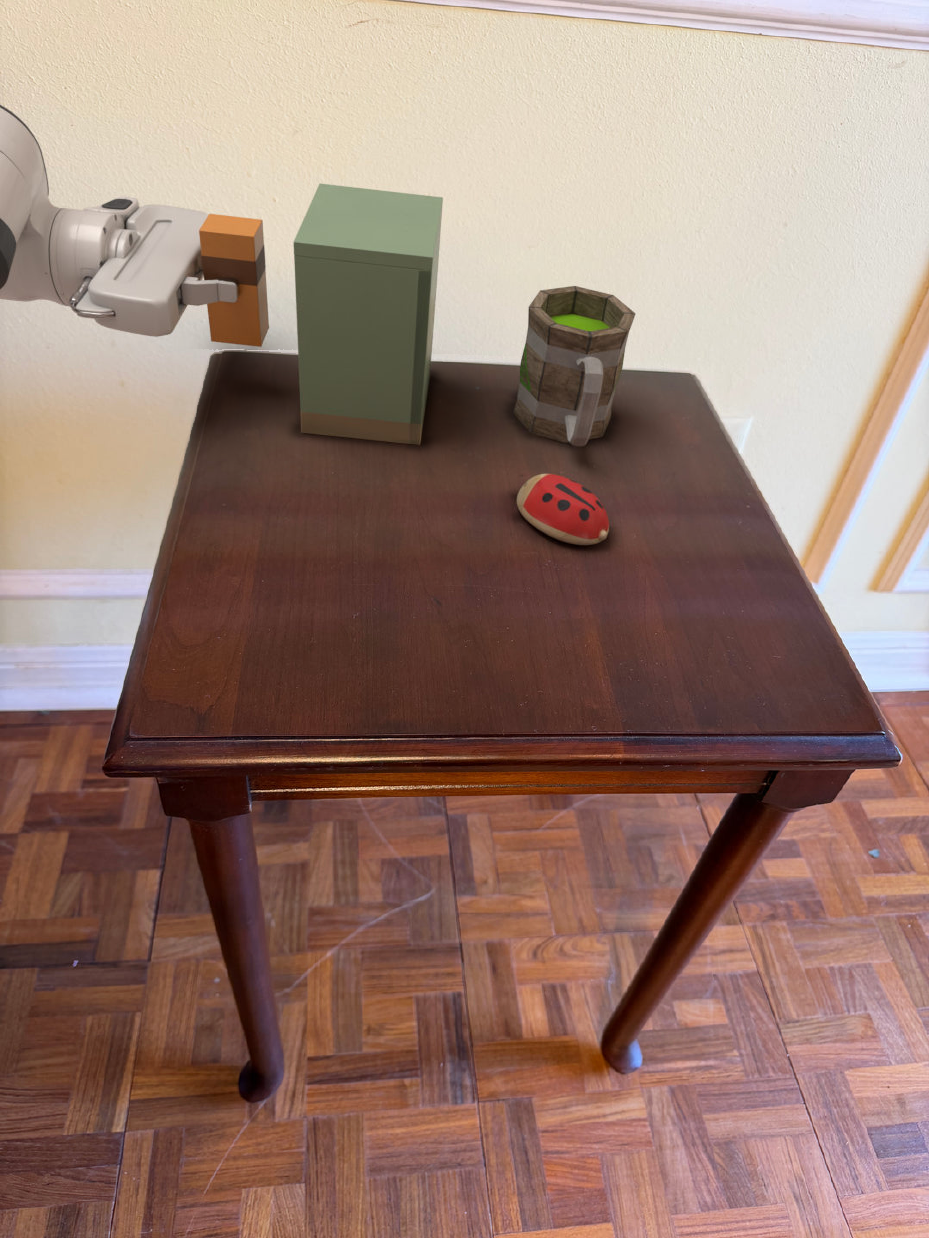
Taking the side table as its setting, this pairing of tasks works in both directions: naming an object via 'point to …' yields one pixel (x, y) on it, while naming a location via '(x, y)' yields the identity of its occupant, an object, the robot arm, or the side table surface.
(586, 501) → the ladybug figurine
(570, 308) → the mug
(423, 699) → the side table surface
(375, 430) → the cubby
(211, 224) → the granola carton
